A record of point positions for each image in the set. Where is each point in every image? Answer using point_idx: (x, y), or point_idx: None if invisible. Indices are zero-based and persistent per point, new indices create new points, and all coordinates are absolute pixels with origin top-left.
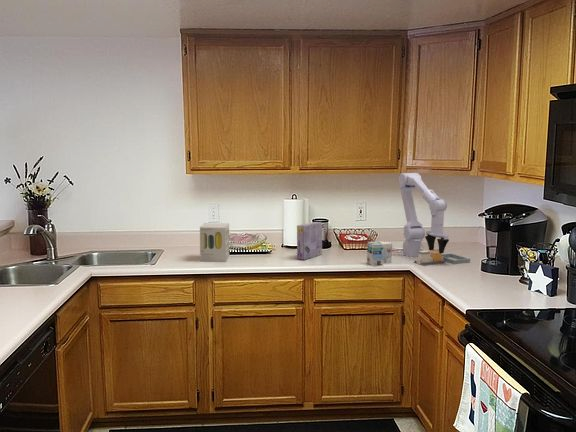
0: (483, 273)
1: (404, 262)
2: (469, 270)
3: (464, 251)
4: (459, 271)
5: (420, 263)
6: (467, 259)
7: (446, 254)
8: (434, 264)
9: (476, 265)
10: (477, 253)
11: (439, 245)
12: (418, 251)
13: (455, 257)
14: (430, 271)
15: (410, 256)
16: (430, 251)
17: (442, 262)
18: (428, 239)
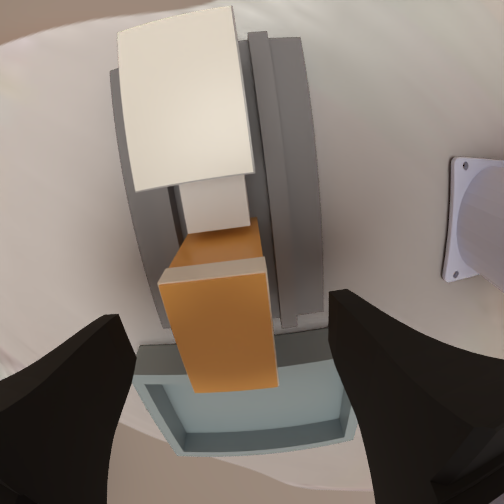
0: (9, 361)
1: (376, 27)
2: (44, 351)
3: None
4: (16, 290)
5: None
6: (170, 443)
7: (348, 416)
8: (139, 200)
9: (156, 436)
10: (361, 485)
11: (33, 373)
12: (230, 8)
13: (297, 433)
14: (24, 95)
15: (484, 172)
16: (260, 261)
17: None
18: (426, 405)
